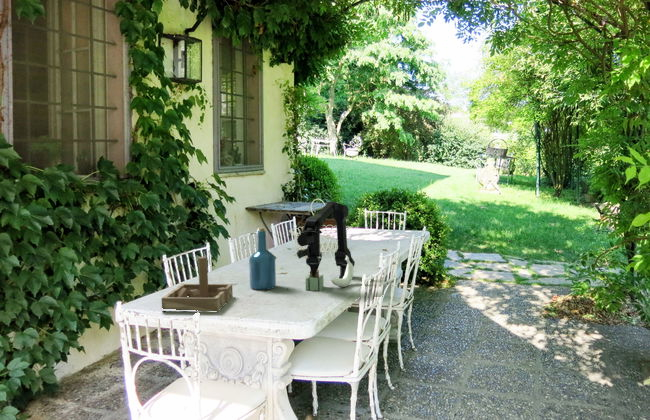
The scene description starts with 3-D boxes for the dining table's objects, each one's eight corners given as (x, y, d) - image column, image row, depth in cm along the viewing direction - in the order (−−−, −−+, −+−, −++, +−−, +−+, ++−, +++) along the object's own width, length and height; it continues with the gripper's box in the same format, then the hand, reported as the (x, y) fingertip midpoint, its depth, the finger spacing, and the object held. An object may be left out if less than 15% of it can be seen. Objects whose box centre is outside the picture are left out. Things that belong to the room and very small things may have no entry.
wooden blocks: (169, 305, 257) (167, 261, 256) (207, 297, 271) (205, 255, 269) (190, 312, 245) (187, 266, 243) (228, 303, 259) (226, 259, 257)
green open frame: (307, 286, 289) (307, 274, 289) (323, 286, 289) (323, 274, 288) (305, 290, 281) (305, 278, 281) (322, 290, 281) (321, 278, 280)
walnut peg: (319, 287, 287) (318, 269, 286) (318, 289, 283) (318, 271, 282) (311, 287, 287) (310, 269, 286) (310, 289, 283) (309, 271, 282)
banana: (330, 290, 281) (330, 260, 280) (347, 282, 298) (346, 254, 297) (339, 291, 279) (339, 261, 278) (355, 283, 296) (355, 254, 294)
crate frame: (182, 296, 273) (182, 283, 272) (232, 296, 271) (232, 284, 270) (162, 311, 246) (161, 298, 245) (217, 312, 244) (216, 298, 243)
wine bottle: (251, 291, 281) (250, 230, 278) (248, 285, 294) (246, 227, 291) (279, 289, 285) (278, 229, 282) (274, 283, 297) (273, 225, 294)
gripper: (300, 240, 293) (300, 270, 294) (295, 246, 274) (295, 278, 276) (321, 240, 292) (322, 270, 293) (318, 246, 273) (319, 278, 275)
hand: (314, 274), depth 284 cm, fingers open, 9 cm apart
